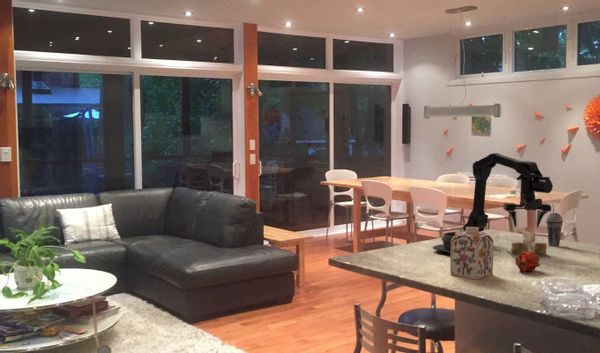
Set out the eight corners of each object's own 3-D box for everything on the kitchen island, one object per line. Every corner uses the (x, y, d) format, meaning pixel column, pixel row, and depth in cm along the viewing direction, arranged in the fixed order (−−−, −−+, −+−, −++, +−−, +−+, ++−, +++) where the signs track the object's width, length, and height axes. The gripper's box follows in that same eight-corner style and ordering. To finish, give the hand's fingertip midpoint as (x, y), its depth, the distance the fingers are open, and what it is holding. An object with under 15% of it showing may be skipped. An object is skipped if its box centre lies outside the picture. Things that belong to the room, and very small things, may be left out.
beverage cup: (565, 247, 287) (567, 203, 286) (553, 248, 285) (554, 204, 283) (554, 244, 294) (555, 202, 292) (541, 245, 291) (542, 202, 290)
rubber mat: (512, 258, 263) (512, 257, 263) (506, 252, 276) (506, 251, 276) (552, 259, 261) (552, 258, 261) (543, 253, 274) (543, 251, 274)
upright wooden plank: (529, 257, 262) (530, 236, 262) (522, 251, 274) (523, 231, 274) (534, 257, 262) (535, 236, 262) (527, 251, 274) (527, 231, 273)
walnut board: (512, 254, 268) (512, 243, 268) (511, 253, 270) (511, 242, 270) (546, 255, 267) (546, 243, 266) (544, 254, 269) (545, 242, 268)
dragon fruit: (535, 272, 244) (523, 282, 236) (518, 257, 248) (505, 267, 239) (548, 257, 240) (535, 267, 231) (529, 242, 243) (517, 251, 235)
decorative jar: (449, 275, 234) (449, 227, 233) (465, 270, 242) (466, 224, 241) (478, 280, 226) (478, 231, 224) (494, 275, 234) (495, 227, 232)
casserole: (426, 254, 273) (426, 235, 273) (440, 247, 289) (441, 229, 288) (483, 260, 260) (483, 240, 259) (495, 252, 275) (495, 233, 275)
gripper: (509, 192, 261) (508, 229, 263) (555, 193, 259) (554, 230, 261) (503, 189, 272) (502, 225, 274) (548, 190, 270) (546, 226, 272)
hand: (526, 227), depth 270 cm, fingers open, 9 cm apart
